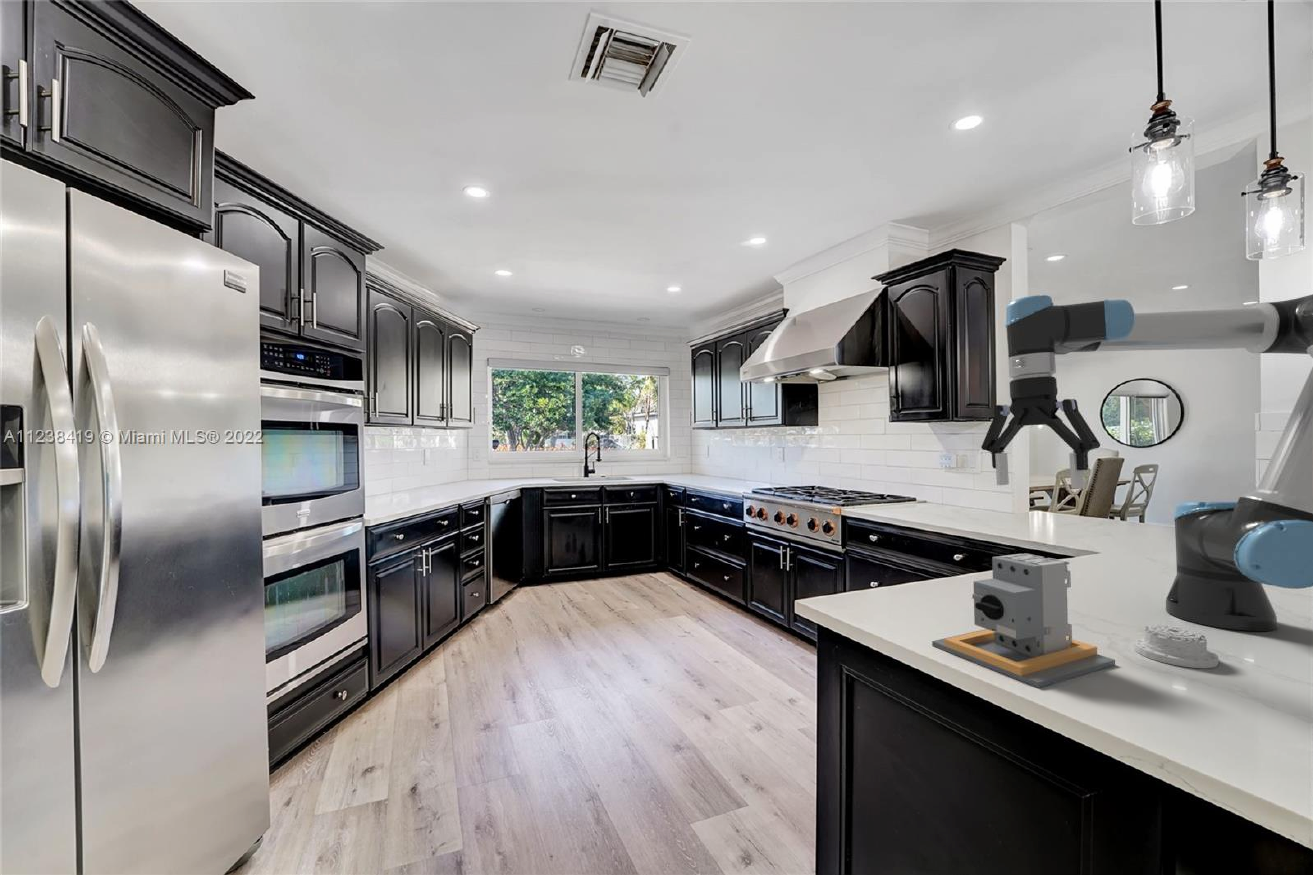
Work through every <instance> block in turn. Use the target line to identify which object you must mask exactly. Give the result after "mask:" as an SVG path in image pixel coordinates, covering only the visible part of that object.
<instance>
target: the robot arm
mask: <svg viewBox="0 0 1313 875" xmlns="http://www.w3.org/2000/svg"><path fill="white" fill-rule="evenodd" d="M1005 309H1006V310H1005V311H1006V315H1005V316H1006V317H1005V328H1006V340H1007V342H1006V343H1007V352H1008V353H1007V354H1008V359H1007V360H1008V362H1007V363H1008V376H1009V378H1011V379H1012V380H1010V381H1009V396H1010V399H1011V404H1010V405H1007V404H997V405H995V407H994V416H993V418H992V421H991V423H990V426H989V428H988V431H987V432H986V435H985V436H984V440H983V442H982V444H981V450H983V451H987V452H989V453H991V454H990V455H991V464H992V465H991V466H992V469H995V472H996V473H995V474H996V476H995V477H996V486H1006V485H1009V484H1010V482H1009V481H1010V480H1009V464H1008V452H1005V451H1004V450H1005V449H1006V448H1007V447H1008V445H1009V444H1010V443H1011V441H1012V440H1013V439H1014V437H1016V436H1017V434H1018V433H1019V431H1020V430H1021V429H1023V428H1024V427H1025V426H1035V425H1036V426H1041V425H1042V426H1047V427H1049V428H1050V429H1051V430H1053V432H1054V433H1056V434H1057V435H1058V437H1060V439H1062V440H1063V441H1064V442H1065V443H1066V445H1068V447H1070V448H1071V449H1072V450H1073V451H1072V452H1070V453H1069V455H1068V456H1069V468H1070V469H1069V472H1070V473H1069V474H1070V489H1072V490H1078V489H1085V477H1084V475H1085V473H1084V471H1087V470H1088V469H1089V454H1088V453H1089V452H1090V451H1093V450H1096V449H1099V448H1100V447H1101V442H1100V441H1099V439H1098V438H1097V436H1095V433H1093V431H1092V429H1091V428H1090V426H1089V425H1088V423H1087V421H1086V420H1085V418H1084V417H1083V415H1082V414H1081V412H1080V410H1079V406H1078V402H1077V401H1078V400H1077V399H1075V398H1073V399H1072V398H1067V399H1066V398H1064V399H1063V400H1061V401H1058V399H1057V395H1058V386H1057V377H1055V376H1053V375H1055V374H1056V373H1057V366H1056V356H1059V355H1061V356H1062V355H1067V354H1069V353H1086V352H1087V353H1088V352H1090V353H1091V352H1123V351H1124V352H1126V351H1127V352H1129V351H1130V352H1131V351H1174V350H1175V351H1176V350H1177V351H1178V350H1181V351H1183V350H1215V349H1216V350H1219V349H1220V350H1221V349H1224V350H1225V349H1226V350H1227V349H1228V350H1229V349H1231V350H1232V349H1245V350H1246V351H1248V353H1251V354H1295V355H1297V354H1298V355H1309V356H1310V357H1311V359H1313V294H1310V295H1306V296H1301V297H1297V298H1292V299H1287V300H1280V301H1272V302H1270V301H1269V302H1259V303H1257V304H1254V305H1253V306H1252V307H1251V308H1236V309H1235V308H1234V309H1233V308H1232V309H1230V308H1228V309H1212V310H1211V309H1209V310H1206V309H1205V310H1186V311H1185V310H1184V311H1166V312H1165V311H1163V312H1140V313H1139V312H1137V313H1135V311H1134V307H1133V306H1132V304H1131V303H1130V302H1129V301H1128V300H1126V299H1112V300H1110V299H1104V300H1100V301H1099V300H1097V301H1092V302H1083V303H1082V302H1081V303H1074V304H1064V305H1063V304H1062V305H1055V304H1054V302H1053V300H1052V297H1051V296H1050V295H1048V294H1047V295H1039V294H1038V295H1030V296H1025V297H1020V298H1017V299H1014V300H1012V301H1011V302H1010V303H1008V305H1007V306H1006V308H1005ZM1307 376H1308V377H1307V378H1306V380H1305V383H1304V385H1303V387H1302V390H1301V392H1300V394H1299V396H1298V398H1297V400H1296V402H1295V404H1294V407H1293V409H1292V411H1291V414H1290V415H1289V418H1288V419H1287V420H1288V421H1287V423H1286V425H1285V426H1284V429H1283V431H1282V433H1281V436H1280V437H1279V440H1278V442H1277V444H1276V447H1275V448H1274V451H1273V453H1272V455H1271V457H1270V460H1269V462H1268V465H1267V466H1266V469H1265V470H1264V473H1263V475H1262V477H1261V479H1260V482H1259V484H1258V486H1257V487H1256V489H1255V490H1253V491H1250V492H1248V493H1247V492H1246V493H1244V494H1241V495H1240V496H1239V498H1238V500H1237V501H1184V502H1183V501H1182V502H1180V503H1178V504H1177V505H1176V507H1175V512H1174V513H1175V514H1174V518H1173V521H1174V525H1175V526H1174V527H1175V528H1174V530H1175V531H1174V534H1175V536H1174V537H1175V552H1176V553H1175V555H1176V556H1175V557H1176V558H1175V560H1176V561H1175V562H1176V575H1175V578H1174V580H1173V582H1172V585H1171V587H1170V589H1169V592H1168V594H1167V596H1166V599H1165V611H1166V613H1168V614H1169V615H1171V616H1173V617H1176V618H1178V619H1181V620H1185V621H1187V622H1190V623H1191V622H1192V623H1196V624H1199V625H1204V626H1209V627H1215V628H1221V629H1228V630H1236V631H1247V632H1248V631H1249V632H1268V631H1270V632H1271V631H1273V630H1276V629H1278V617H1277V614H1276V612H1275V609H1274V608H1273V605H1272V604H1271V601H1270V599H1269V597H1268V595H1267V593H1266V591H1265V589H1264V586H1263V585H1267V586H1273V587H1276V588H1277V587H1278V588H1282V589H1290V590H1293V589H1295V590H1296V589H1307V588H1312V587H1313V366H1312V367H1311V370H1310V372H1309V373H1308V375H1307ZM1058 410H1060V411H1061V412H1063V413H1064V415H1065V418H1066V419H1067V421H1069V424H1070V425H1071V426H1072V428H1073V430H1074V432H1075V433H1076V434H1075V433H1074V432H1073V431H1072V430H1071V429H1070V428H1069V426H1067V425H1066V424H1065V423H1064V422H1063V420H1062V419H1061V418H1060V417H1059V416H1058V415H1057V414H1056V413H1057V412H1058ZM1010 414H1012V415H1013V416H1012V417H1011V420H1010V421H1009V422H1008V425H1007V427H1006V428H1005V429H1004V426H1005V424H1006V422H1007V419H1008V417H1009V415H1010ZM1003 429H1004V430H1003ZM1002 430H1003V432H1002Z"/></svg>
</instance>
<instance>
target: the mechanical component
mask: <svg viewBox="0 0 1313 875" xmlns="http://www.w3.org/2000/svg"><path fill="white" fill-rule="evenodd" d="M1207 641H1208V640H1207V638H1206V635H1205V634H1202V633H1201V632H1197V631H1195V630H1191V629H1188V628H1184V627H1182V626H1175V625H1174V626H1172V625H1168V624H1150V625H1144V627H1143V637H1142V638H1137V639H1135V640H1134V642H1133V644H1134V650H1135V651H1136V653H1137V654H1139V655H1141V656H1144V657H1146V658H1147V659H1148V658H1149V659H1151V660H1154V661H1157V662H1161V663H1165V664H1169V665H1174V666H1177V667H1186V668H1193V669H1212V668H1216V667H1218V665H1219V656H1218V654H1216V652H1215V653H1214V652H1213V651H1211V650H1209V649H1208V647H1207V644H1208V643H1207Z"/></svg>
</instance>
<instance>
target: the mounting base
mask: <svg viewBox="0 0 1313 875" xmlns="http://www.w3.org/2000/svg"><path fill="white" fill-rule="evenodd" d="M994 632H995V631H991V630H988V629H985V628H983V629H980V630H976V631H971V632H967V633H964V634H963V633H962V634H959V635H954V636H950V637H945V638H941V639H937V640H932V641H931V645H932V646H933V647H935V648H937V649H939V650H942V651H945V652H947V653H950V654H952V655H955V656H957V657H960V658H963V659H964V660H967V661H970V662H973V663H975V664H977V665H978V666H979V665H980V666H981V667H985V668H987V669H989V670H993V671H994V672H998V673H1000V674H1002V675H1004V676H1007V677H1010V678H1013V679H1014V680H1017V681H1020V682H1023V683H1025V684H1027V685H1030V686H1032V687H1035V688H1038V689H1039V688H1043V687H1047V686H1049V685H1054V684H1056V682H1057V683H1060V682H1063V681H1066V680H1070V679H1072V678H1076V677H1079V676H1083V675H1086V674H1089V673H1092V672H1095V671H1096V672H1097V671H1100V670H1102V669H1106V668H1109V667H1112V666H1115V665H1116V659H1114V658H1111V657H1108V656H1105V655H1101V654H1098V647H1097V646H1096V645H1092V644H1089V643H1085V642H1082V641H1079V640H1076V639H1073V638H1072V643H1070V648H1069V649H1065V650H1061V651H1058V652H1054V653H1050V654H1046V655H1043V656H1039V657H1035V658H1032V657H1030V656H1027V655H1025V654H1022V653H1019V652H1017V651H1014V650H1012V649H1009V648H1006V647H1004V646H1001V645H998V644H996V643H994ZM1066 640H1069V637H1066Z"/></svg>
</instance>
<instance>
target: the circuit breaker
mask: <svg viewBox="0 0 1313 875" xmlns="http://www.w3.org/2000/svg"><path fill="white" fill-rule="evenodd" d="M991 563H992V578H988V579H980V580H974V581H973V593H972V599H973V613H974V614H973V615H974V618H973V619H974V621H973V622H974V623H973V624H974V625H975V626H977V627H980V628H983V629H988V630H991V631H995V632H994V643H996V644H998V645H1001V646H1004V647H1006V648H1009V649H1012V650H1014V651H1017V652H1019V653H1022V654H1025V655H1027V656H1030V657H1032V658H1035V657H1039V656H1043V655H1046V654H1050V653H1054V652H1058V651H1061V650H1065V649H1069V648H1070V643H1072V639H1073V628H1072V627H1073V626H1072V625H1073V624H1071V623H1069V621H1068V620H1069V618H1068V617H1069V616H1068V615H1069V614H1068V589H1069V588H1071V587H1072V582H1071V580H1072V579H1071V570H1069V569H1068V565H1070V562H1069V561H1067V560H1061V559H1056V558H1051V557H1047V558H1046V557H1045V556H1041V555H1035V554H1033V553H1032V554H1031V553H1025V552H1024V553H1016V554H1007V555H1006V554H1005V555H999V556H992V559H991ZM1066 581H1067V582H1066ZM1067 637H1068V638H1069V640H1066V638H1067Z"/></svg>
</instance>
